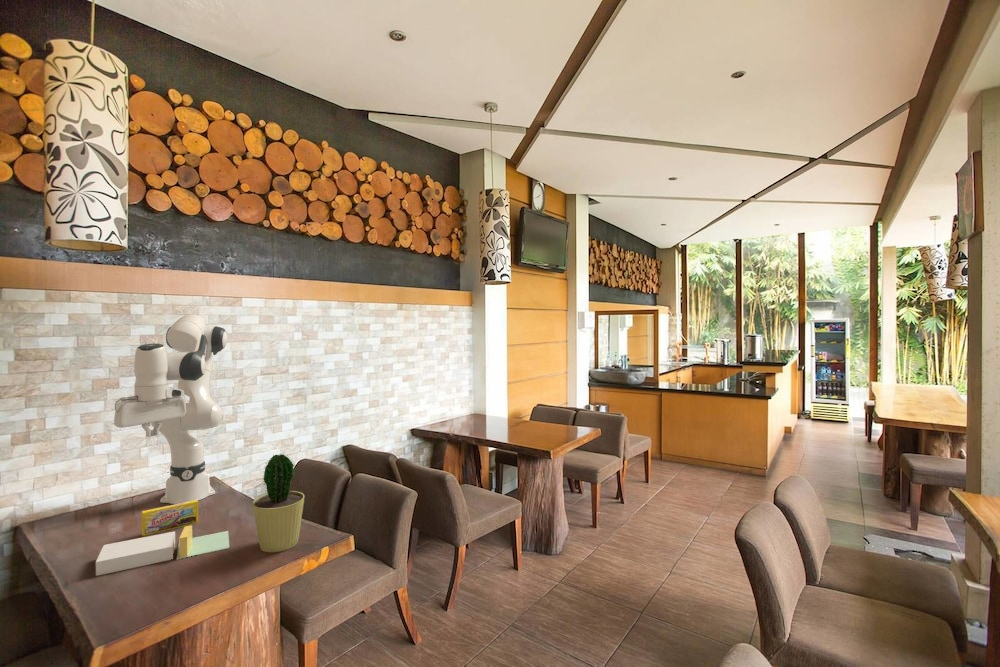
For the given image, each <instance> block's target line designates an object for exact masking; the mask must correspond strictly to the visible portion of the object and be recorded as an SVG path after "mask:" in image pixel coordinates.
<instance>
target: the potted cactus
mask: <svg viewBox="0 0 1000 667" xmlns="http://www.w3.org/2000/svg"><path fill="white" fill-rule="evenodd" d="M294 468H295V465H294V462H293V459H290V457H289V456H288V454H287V455H285V454H283V453H280V454H273V455H272V456H271V458H269V460H268V462H266V465H265V466H264V470H263V471H262V473H263V475H262V476H263V480H262V481H261V483H262V482H263V483H262V485H263V486H265V489H266V491H265V492H266V493H265V494H263V495H261V496H259V497H257V498H255V499H254V500H253V501H252V504H251V505H252V508H253V509H252V510H253V515H254V520H255V526H256V532H257V537H258V538H257V539H258V543H259V548H260V550H261V551H263V552H265V553H266V552H267V553H279V552H284V551H287V550H291V549H292V548H293V547H295V546H296V545H297V544H298V542H299V539H300V530H301V524H302V519H303V518H302V517H303V510H304V504H305V494H304V493H303V492H301V491H296V490H290V489H291V484H293V483H292V480H293V479H295V478H297V476H296V474H295V472H296V471H297V470H295V469H294Z"/></svg>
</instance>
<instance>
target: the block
mask: <svg viewBox="0 0 1000 667" xmlns="http://www.w3.org/2000/svg"><path fill="white" fill-rule="evenodd" d="M192 538H193V524H191V525H187V526H183V529H182V531H181V534H180V536H179V538H178V539H179V540H178V545H179V548H180V557H185V556H188V553H189V551H190V548H191V546H192Z"/></svg>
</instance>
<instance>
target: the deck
mask: <svg viewBox="0 0 1000 667" xmlns="http://www.w3.org/2000/svg"><path fill="white" fill-rule="evenodd" d="M175 547H176V531H170V532H164V533H159V534H155V535H153V534H152V535H147V536H142V537H140V538H139V537H138V538H134V539H133V538H132V539H128V540H123V541H117V542H112V543H108V544H106V543H105V544H103V546H102V548H101V550H100V552H99V554H98V556H97V559H96V561H95V576H96V577H97V576H102V575H107V574H111V573H116V572H120V571H125V570H130V569H134V568H135V569H136V568H139V567H140V568H141V567H143V566H144V567H145V566H149V565H153V564H157V563H158V564H159V563H163V562H167V561H171V559H172V560H173V559H174V555H173V554H175Z"/></svg>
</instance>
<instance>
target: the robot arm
mask: <svg viewBox="0 0 1000 667" xmlns="http://www.w3.org/2000/svg"><path fill="white" fill-rule="evenodd" d="M166 330H167V331H166V334H165V341H166V342H165V343H166V345H167V346H168V347H169V349H173V350H175V351H176V352H167V350H166V345H164V344H162V343H161V344H160V343H146V344H145V343H144V344H142V345H139V346H137V348H136V349H135V353H134V360H133V361H134V364H133V373H134V375H135V382H134V384H133V385H134V387H133V388H134V395H130V396H126V397H125V396H123V397H120V398H119V399H117V401H115V403H114V410H115V412H114V418H113V425H114V426H115V427H116V428H120V429H121V428H122V429H125V428H128V427H129V428H130V427H135V426H141V428H142V429H143V430H144V431H145V436H146V437H148V438H151V437H155V436H159V435H160V434H159V433H161V434H162V435H163V436H164V438H165V439H166V441H167V443H168V446H169V450H170V459H171V461H170V462H171V463H170V467H169V474H170V476H169V478H168V479H167V480H166V481H165V494H164V495H163V496H162V497H161V498H160V501H159V503H161V504H164V503H166V504H171V505H174V504H179V503H184V502H189V501H194V500H198V501H201V500H203V499H205V498H207V497H209V496H212V495H215V494H216V491H215V489H214V488H213V487H212V485H211V482H210V475H209V473H207V472H206V462H205V458H204V450H205V449H204V443H203V441H202V440H201V439H199V438H196V437H195V436H193V435H192V434H191V433H190V431H202V430H207V429H208V430H209V429H214V428H216V427H218V426H219V425H220V424H221V423H222V422H221V421H222V420H223V414H224V413H223V409H222V407H220V406H219V404H217V403H216V402H215V401H214V400H213V398H212V397H211V394H210V384H211V378H212V377H211V376H212V372H213V363H214V362H213V361H214V360H213V359H214V358H213V356H216V355H217V354H218V353H220V352H221V351H222V350H224V349H225V347H226V345H227V343H228V334H227V331H226V329H225V328H224V327H221V326H217V325H215V326H213V325H207V324H206V321H205V320H204V318H203V317H202V316H200V315H198V314H194V313H188V314H185V315H183V316H182V317H180V318H178V319H177V320H176V321H175V322H174V323H172V325H170V327H168V328H167V329H166ZM168 381H178V382H177V388H174V387H169V382H168ZM184 395H185V396H186V397H189V401H188V402H187V403H186V399H185V397H184ZM150 427H152V428H153V429H150Z"/></svg>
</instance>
